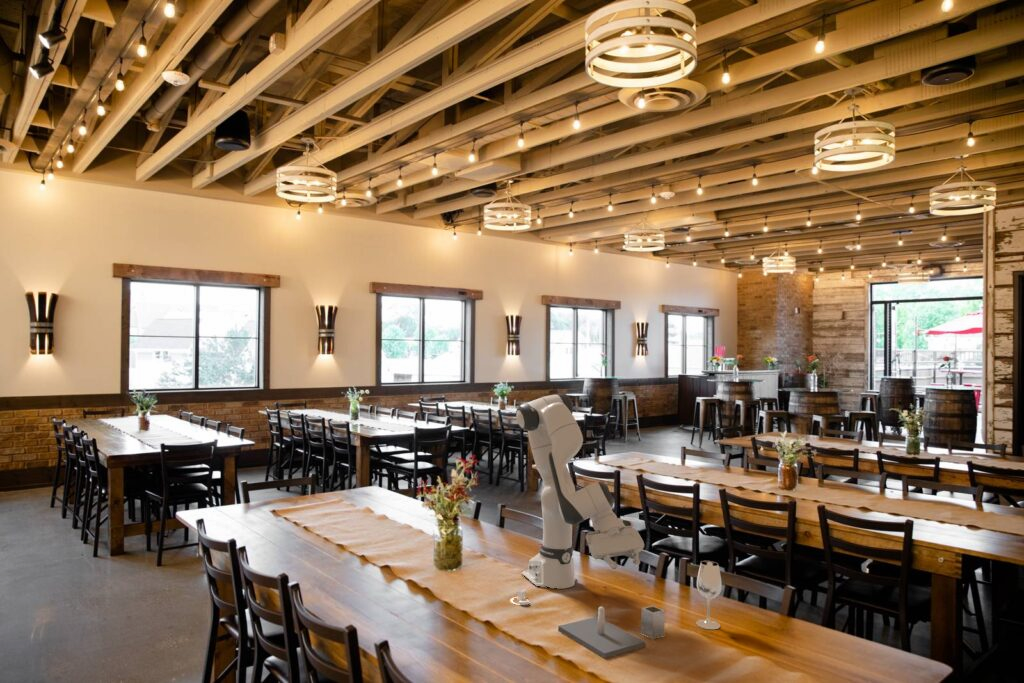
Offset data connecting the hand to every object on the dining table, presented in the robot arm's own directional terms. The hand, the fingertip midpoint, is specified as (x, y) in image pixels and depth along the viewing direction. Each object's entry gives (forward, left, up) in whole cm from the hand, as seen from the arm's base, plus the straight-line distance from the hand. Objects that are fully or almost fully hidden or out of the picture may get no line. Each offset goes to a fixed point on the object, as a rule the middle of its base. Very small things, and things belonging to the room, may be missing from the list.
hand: (626, 566), depth 220 cm
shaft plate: (+6, -16, -18) cm, 25 cm away
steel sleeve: (+12, 0, -18) cm, 22 cm away
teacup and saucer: (-31, -23, -19) cm, 43 cm away
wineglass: (+15, +22, -18) cm, 33 cm away
